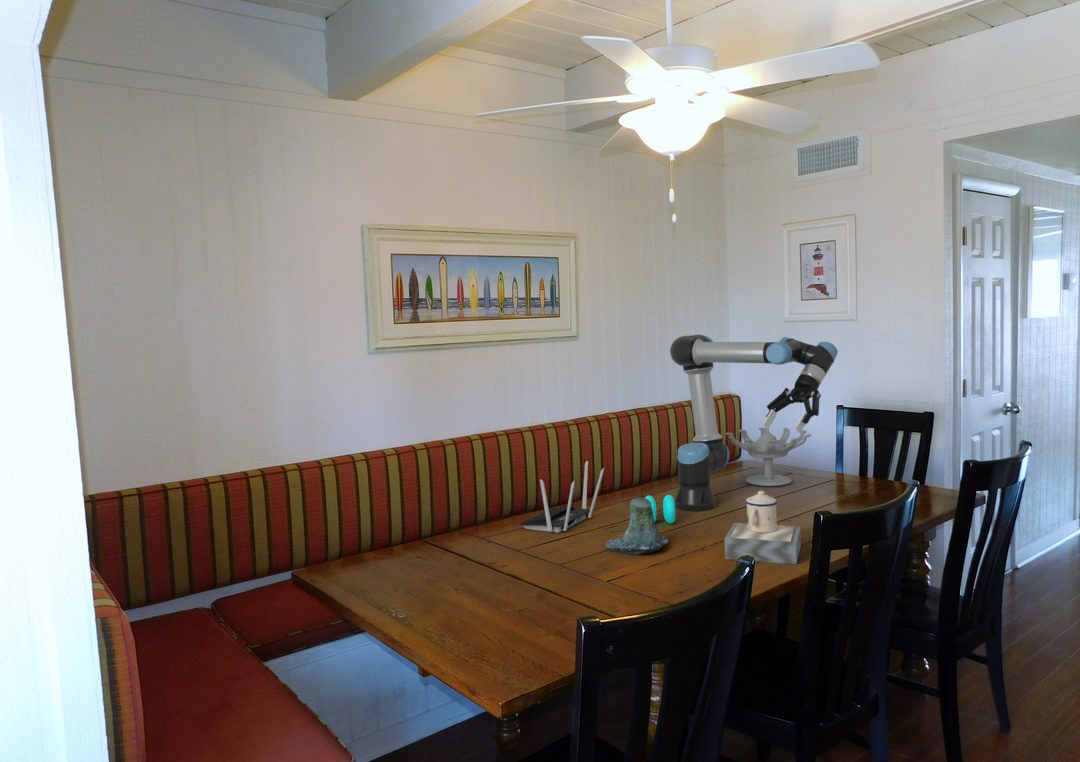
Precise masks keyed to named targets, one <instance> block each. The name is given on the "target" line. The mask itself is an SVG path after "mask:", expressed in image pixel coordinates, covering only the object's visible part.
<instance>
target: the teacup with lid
mask: <svg viewBox="0 0 1080 762" xmlns="http://www.w3.org/2000/svg"><path fill="white" fill-rule="evenodd" d="M745 503H746V523H747V528H748V529H749V530H750V531H753V532H758V533H769V532H773V531H775V530H776V529H777V525H778V519H777V516H778V513H777V504H778V501H777V498H776V497H772V496H770V495H768V494H766V493H765V491H764V490H758V491H757V493H756V494H754V495H751V496H750V497H747V498H746V499H745Z"/></svg>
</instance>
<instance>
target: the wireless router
mask: <svg viewBox="0 0 1080 762" xmlns="http://www.w3.org/2000/svg"><path fill="white" fill-rule="evenodd" d="M605 468H606V467H603V468H602V469H601V470H600V473H599V476H598V479H597V480H598V481H597V482H596V487H595V491H594V494H593V498H592V502H591V505H590V509H589V508H587V497H588V496H587V495H588V494H587V492H588V471H589V461H585V463H584V474H583V475H584V476H583V486H582V487H583V490H582V505H581V507H582V508H580V507H579V508H578V507H574V506H572V503H573V502H572V501H573V495H574V489H575V485H576V484H575V483H576V480H573V481H572V483H571V485H570V492H569V496H568V502H567V507H563V508H561V507H560V508H557V507H556V508H551V509H549V503H548V498H547V493H546V487H545V482H544V481H543V479H541V478H540V479H539V481H540V482H539V483H540V488H541V489H540V490H541V495H542V501H543V502H542V503H543V508H544V512H541V513H540V514H537V515H536V516H534V517H531V518H529V519H527V520H525V521H522V522H520V524H519V525H520V526H522V527H523V528H524V529H526V530H534V531H541V532H550V533H561V532H563V531H565V532H566V531H568V529H569V528H571V527H572V526H574V525H576V524H578V523H579V522H582V521H584V520H586V519H587V517H588V518H589V519H591V518H592V515H593V511H594V508H595V506H596V501H597V497H598V494H599V490H600V487H601V482H602V480H603V476H604V472H605V470H606V469H605Z"/></svg>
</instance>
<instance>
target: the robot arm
mask: <svg viewBox="0 0 1080 762" xmlns="http://www.w3.org/2000/svg"><path fill="white" fill-rule="evenodd" d="M671 343H672V344H671V346H670V349H669V354H670V358H671V359H672V361H673V362H674V363H675V364H677V365H679V366H680V367H682V370H683V372H684V373H685V374H686V375H687V378H688V386H689V392H690V399H691V400H690V401H691V408H692V409H691V410H692V415H693V416H692V417H693V423H694V432H695V436H694V437H692V438H693V439H692V442H690V443H685V444H682V445H680V446H679V448H678V449H677V456H676V459H677V476H678V487H677V491H676V495H675V498H674V502H675V509H678V510H682V511H690V512H694V511H695V512H698V511H699V512H700V511H708V510H712V509H715V508H716V498H715V497H714V493H713V490H712V488H711V481H710V480H711V479H710V477H711V476H710V475H711V474H712V473H716V472H719V471H720V470H722V469H723V468H724V467H726V465H727V464H728V462H729V461H730V450H729V448H728V446H727V445H726V444H725V442H724V438H723V435H721V434H720V433H719V430H718V423H717V415H716V407H715V400H714V391H713V383H712V377H711V371H713V369H714V363H718V364H719V363H722V364H723V363H725V364H728V363H729V364H770V365H772V364H773V365H776V366H777V365H779V366H780V365H785V364H789V363H794V362H795V363H797V364H801V365H803V366H804V367H803V368H802V370H801V372H800V373H799V376H798V377H797V379H796V381H795V382H794V387H793V388H792V389H789V388H788V387H785V388H784V390H783V391H782V392H781V393H780V394H779V395H777V397H775V398H774V399H773V400H772V401H771V402H769V404H767V405H766V408H767V409H768V413H767V414H766V416H765V420H764V421H763V423H762V424H763V427H764V428H767V429H769V430H770V427H771V426H772V424H773V422H774V420H775V419H776V417H777V415H778V414H777V413H778V412H780V411H782V410H783V409H784V408H786V407H788V406H789V405H792V404H794V403H795V404H796V403H797V404H798V403H800V404H803V406H804V409H805V411H803V413H802V415H801V416H800V418H799V419H798V421H797V423H796V425H795V426H794V427H795V430H796V431H797V432H798V433H799V434H801V431H804V428H805V426H806V425H807V424H808V423H809V421H810V420H811V418H812V417H814V416H815V417H819V414H820V413H819V412H820V398H821V397H822V394H821V392H820V391H819V390H818V389H819V387H820V385H821V384H822V383H823V380H824V379H825V378H826V375H827V374H828V371H829V370H830V369H831V367H832V366H833V364H834V363H835V360H836V358H837V356H838V352H839V351H838V348H837V347H836V346H835V345H834V344H832V343H831V342H829V341H820V342H818V343H817V345H814V344H809V343H806V342H804V341H800V340H797V339H795V338H790V337H786V336H785V337H782V338H781V339H780V340H779V341H767V342H766V341H713V340H712V339H711V338H710V337H709V336H707V335H704V334H691V335H682V336H679V337H677V338H676V339H675V340H673V342H671ZM810 399H812V400H811V401H812V402H811V401H810Z"/></svg>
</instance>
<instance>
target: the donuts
mask: <svg viewBox="0 0 1080 762" xmlns="http://www.w3.org/2000/svg"><path fill="white" fill-rule="evenodd" d="M644 498H645V499H648V500H649V501H650V502H651V507H652V512H653V518H654V522H655V523H656V520H657V504H656V500H655V498H654V497H653V496H652V495H646V496H644ZM662 510H663V512H662V513H663V518H664V521H666V523H667V524H674V522H676V507H675V498H674V496H673V495H672V494H667V495H665V496H664V498H663V500H662Z"/></svg>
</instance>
